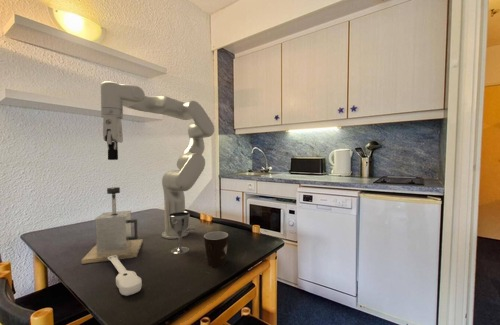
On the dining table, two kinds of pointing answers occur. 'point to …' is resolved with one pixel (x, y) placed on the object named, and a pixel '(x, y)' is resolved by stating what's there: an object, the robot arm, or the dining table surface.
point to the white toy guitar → (125, 278)
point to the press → (114, 238)
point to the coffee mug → (216, 248)
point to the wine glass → (179, 228)
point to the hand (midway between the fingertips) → (113, 159)
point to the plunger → (113, 197)
